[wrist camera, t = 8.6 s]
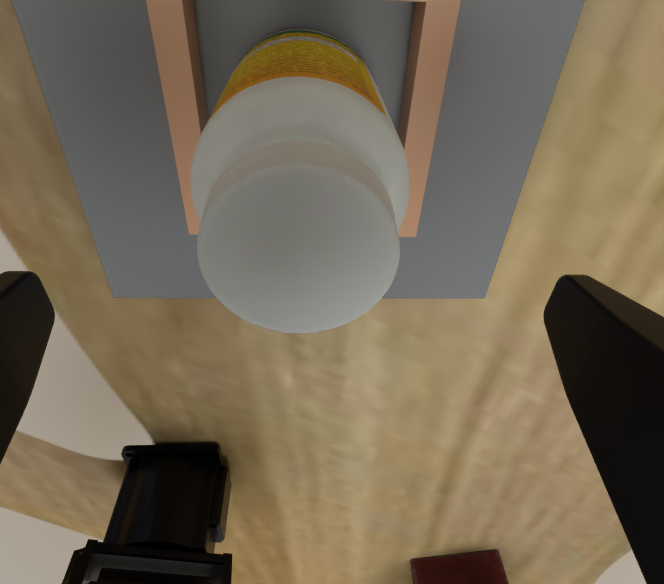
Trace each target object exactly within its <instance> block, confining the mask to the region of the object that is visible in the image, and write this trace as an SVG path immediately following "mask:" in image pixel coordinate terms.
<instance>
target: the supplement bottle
mask: <svg viewBox="0 0 664 584" xmlns="http://www.w3.org/2000/svg"><path fill="white" fill-rule="evenodd" d="M190 181H191V195H192V200H193V204H194V208H195V211H196V214H197V217H198V220H199V222H200V228H199V232H198V240H197V256H198V262H199V267H200V270H201V273H202V276H203V278H204V280H205V282H206V284H207V286H208V287H209V289H210V290H211V292H212V293H213V295H214V296H215V297H216V298H217V299H218V300H219V302H220V303H222V304H223V305H224V306H225V307H226V308H227V309H228V310H230V311H231V312H232V313H233V314H235V315H237V316H238V317H240V318H242V319H243V320H245V321H247V322H249V323H251V324H254V325H256V326H259V327H262V328H266V329H270V330H273V331H278V332H285V333H314V332H320V331H325V330H329V329H333V328H336V327H339V326H342V325H344V324H347V323H349V322H351V321H353V320H355V319H357V318H359V317H360V316H362V315H363V314H364V313H366V312H367V311H369V310H370V309H371V308H373V306H374V305H375V304H376V303H377V302H378V301H379V300H380V299H381V298H382V297H383V296H384V294H385V293H386V292H387V290H388V289H389V287H390V285H391V283H392V281H393V279H394V277H395V274H396V271H397V268H398V264H399V258H400V241H399V235H398V231H399V229H400V227H401V225H402V223H403V220H404V217H405V215H406V211H407V208H408V202H409V195H410V174H409V167H408V162H407V157H406V154H405V151H404V148H403V145H402V143H401V141H400V138H399V136H398V134H397V132H396V130H395V127H394V125H393V123H392V120H391V118H390V116H389V114H388V111H387V109H386V107H385V104H384V102H383V99H382V97H381V95H380V92H379V90H378V87H377V85H376V83H375V81H374V79H373V76H372V74H371V72H370V70H369V69H368V67H367V65H366V64H365V62H364V61H363V60H362V58H361V57H360V56H359V55H358V54H357V53H356V52H355V51H354V50H353V49H352V48H351V47H350V46H348V45H347V44H346V43H344V42H343V41H341V40H339V39H337V38H336V37H333V36H331V35H329V34H326V33H323V32H320V31H316V30H311V29H287V30H283V31H279V32H276V33H274V34H271V35H269V36H267V37H265V38H263V39H262V40H260V41H259V42H257V43H256V44H255V45H254V46H252V47H251V48H250V49H249V50H248V51H247V52H246V53H245V55H244V56H243V57H242V58H241V60H240V61H239V63H238V65H237V66H236V68H235V69H234V71H233V73H232V75H231V77H230V79H229V80H228V82H227V84H226V86H225V89H224V91H223V92H222V94H221V96H220V98H219V101H218V103H217V104H216V106H215V108H214V110H213V112H212V114H211V116H210V118H209V120H208V122H207V124H206V126H205V128H204V129H203V131H202V133H201V136H200V138H199V140H198V143H197V146H196V149H195V152H194V156H193V161H192V166H191V178H190Z"/></svg>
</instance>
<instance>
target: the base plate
mask: <svg viewBox="0 0 664 584" xmlns="http://www.w3.org/2000/svg"><path fill="white" fill-rule="evenodd" d="M11 1H12V4H13V6H14V9H15V12H16V15H17V18H18V21H19V24H20V27H21V30H22V33H23V36H24V38H25V41H26V44H27V47H28V50H29V53H30V56H31V59H32V62H33V65H34V68H35V70H36V73H37V76H38V79H39V82H40V85H41V88H42V91H43V94H44V97H45V100H46V102H47V105H48V108H49V111H50V114H51V117H52V120H53V123H54V126H55V129H56V132H57V134H58V137H59V140H60V143H61V146H62V149H63V152H64V155H65V158H66V161H67V164H68V166H69V169H70V172H71V175H72V178H73V181H74V184H75V187H76V190H77V193H78V196H79V198H80V201H81V204H82V207H83V210H84V213H85V216H86V219H87V222H88V225H89V228H90V230H91V233H92V236H93V239H94V242H95V245H96V248H97V251H98V254H99V257H100V260H101V262H102V265H103V268H104V271H105V274H106V277H107V280H108V283H109V286H110V289H111V292H112V294H113V297H114V298H216V297H215V296H214V295H213V293H212V292H211V290H210V289H209V287H208V286H207V284H206V282H205V280H204V278H203V276H202V273H201V270H200V267H199V262H198V256H197V240H198V232H199V228H200V222H199V220H198V217H197V214H196V211H195V208H194V204H193V200H192V195H191V181H190V178H191V166H192V161H193V156H194V152H195V149H196V146H197V143H198V140H199V138H200V136H201V133H202V131H203V129H204V128H205V126H206V124H207V122H208V120H209V118H210V116H211V114H212V112H213V110H214V108H215V106H216V104H217V103H218V101H219V98H220V96H221V94H222V92H223V91H224V89H225V86H226V84H227V82H228V80H229V79H230V77H231V75H232V73H233V71H234V69H235V68H236V66H237V65H238V63H239V61H240V60H241V58H242V57H243V56H244V55H245V53H246V52H247V51H248V50H249V49H250V48H251V47H252V46H254V45H255V44H256V43H257V42H259V41H260V40H262V39H263V38H265V37H267V36H269V35H271V34H274V33H276V32H279V31H283V30H287V29H311V30H316V31H320V32H323V33H326V34H329V35H331V36H333V37H336V38H337V39H339V40H341V41H343V42H344V43H346V44H347V45H348V46H350V47H351V48H352V49H353V50H354V51H355V52H356V53H357V54H358V55H359V56H360V57H361V58H362V60H363V61H364V62H365V64H366V65H367V67H368V69H369V70H370V72H371V74H372V76H373V79H374V81H375V83H376V85H377V87H378V90H379V92H380V95H381V97H382V99H383V102H384V104H385V107H386V109H387V111H388V114H389V116H390V118H391V120H392V123H393V125H394V127H395V130H396V132H397V134H398V136H399V138H400V141H401V143H402V145H403V148H404V151H405V154H406V157H407V162H408V167H409V174H410V195H409V202H408V208H407V211H406V215H405V217H404V220H403V223H402V225H401V227H400V229H399V231H398V235H399V241H400V258H399V264H398V268H397V271H396V274H395V277H394V279H393V281H392V283H391V285H390V287H389V289H388V290H387V292H386V293H385V294H384V296H383V297H382V298H479V299H484V298H485V296H486V293H487V290H488V287H489V284H490V281H491V278H492V275H493V272H494V269H495V266H496V263H497V260H498V257H499V254H500V251H501V248H502V245H503V242H504V239H505V236H506V233H507V230H508V227H509V224H510V221H511V218H512V215H513V212H514V209H515V206H516V203H517V201H518V198H519V195H520V192H521V189H522V186H523V183H524V180H525V177H526V174H527V171H528V168H529V165H530V162H531V159H532V156H533V153H534V150H535V147H536V144H537V141H538V138H539V135H540V132H541V129H542V126H543V123H544V120H545V117H546V114H547V111H548V108H549V105H550V103H551V100H552V97H553V94H554V91H555V88H556V85H557V82H558V79H559V76H560V73H561V70H562V67H563V64H564V61H565V58H566V55H567V52H568V49H569V46H570V43H571V40H572V37H573V34H574V31H575V28H576V25H577V22H578V19H579V16H580V13H581V10H582V8H583V5H584V2H585V0H11Z"/></svg>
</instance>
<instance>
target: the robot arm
mask: <svg viewBox="0 0 664 584" xmlns="http://www.w3.org/2000/svg"><path fill="white" fill-rule="evenodd" d="M54 319H55V313H54V308H53V306H52V304H51V302H50V299H49V297H48V295H47V293H46V291H45V289H44V287H43V284H42V282H41V280H40V278H39V277H38V276H37V275H36V274H35V273H33V272H30V271H7V272H4V273H2V274H0V464H1V461H2V459H3V457H4V455H5V453H6V450H7V448H8V446H9V444H10V442H11V439H12V437H13V435H14V433H15V431H16V428H17V426H18V424H19V422H20V419H21V417H22V415H23V413H24V410H25V408H26V406H27V403H28V401H29V398H30V395H31V393H32V390H33V387H34V384H35V381H36V378H37V375H38V371H39V368H40V365H41V362H42V358H43V356H44V352H45V349H46V346H47V343H48V340H49V337H50V334H51V330H52V327H53V324H54ZM544 323H545V327H546V330H547V334H548V337H549V340H550V344H551V347H552V350H553V354H554V357H555V360H556V364H557V367H558V370H559V374H560V377H561V380H562V383H563V386H564V389H565V392H566V395H567V398H568V400H569V403H570V405H571V408H572V410H573V412H574V415H575V417H576V419H577V422H578V424H579V426H580V429H581V431H582V433H583V436H584V438H585V441H586V443H587V445H588V448H589V450H590V452H591V455H592V457H593V459H594V462H595V464H596V466H597V469H598V471H599V473H600V476H601V478H602V480H603V483H604V485H605V487H606V490H607V492H608V494H609V497H610V499H611V501H612V504H613V506H614V508H615V511H616V513H617V515H618V518H619V520H620V522H621V525H622V527H623V529H624V532H625V534H626V536H627V539H628V541H629V544H630V546H631V548H632V551H633V553H634V555H635V558H636V560H637V562H638V564H639V566H640V569H641V572H642V574H643V576H644V578H645V581H646V583H647V584H664V317H663V316H661V315H659V314H657V313H655V312H653V311H652V310H650V309H648V308H646V307H644V306H642V305H641V304H639V303H637V302H635V301H633V300H632V299H630V298H628V297H626V296H624V295H622V294H621V293H619V292H617V291H615V290H613V289H611V288H610V287H608V286H606V285H604V284H602V283H601V282H599V281H597V280H595V279H593V278H591V277H589V276H587V275H564V276H562V277H560V278H559V279H558V281H557V283H556V285H555V287H554V289H553V292H552V294H551V296H550V298H549V300H548V303H547V305H546V307H545V310H544ZM121 455H122V457H123V459H124V462H125V464H126V466H127V470H126V473H125V476H124V479H123V483H122V486H121V489H120V492H119V495H118V498H117V501H116V504H115V507H114V510H113V513H112V516H111V519H110V523H109V526H108V529H107V532H106V535H105V538H104V541H103V542H98V540H91V539H88V541H87V544H86V547H84V548H83V549H79V550H75V551H74V553H73V555H72V558H71V561H70V564H69V566H68V569H67V572H66V574H65V577H64V579H63V582H62V584H231V573H232V554H229V553H223V554H214V548H215V543H219V542H222V541H223V540H224V537H225V529H226V522H227V514H228V506H229V498H230V491H231V481H230V476H229V471H228V468H227V467H226V466H225V465H223V461H222V456H221V451H220V447H219V446H218V445H215V444H185V445H133V446H132V445H130V446H125V447H124V448H123V450H122V453H121Z"/></svg>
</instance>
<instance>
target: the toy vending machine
mask: <svg viewBox="0 0 664 584" xmlns="http://www.w3.org/2000/svg"><path fill="white" fill-rule="evenodd" d="M410 562H411V570H412V578H413V584H509V583H508V580H507V577H506V574H505V570H504V567H503V564H502V561H501V557H500V554H499V551H498V550H488V551H479V552H471V553H462V554H453V555H444V556H435V557H427V558H418V559H412V560H410Z"/></svg>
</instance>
